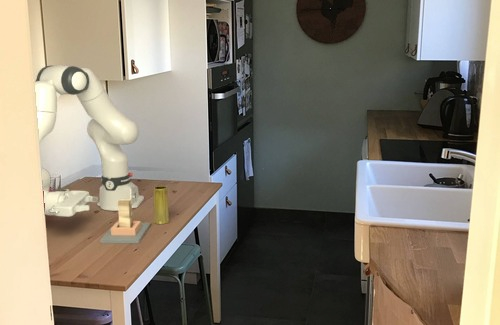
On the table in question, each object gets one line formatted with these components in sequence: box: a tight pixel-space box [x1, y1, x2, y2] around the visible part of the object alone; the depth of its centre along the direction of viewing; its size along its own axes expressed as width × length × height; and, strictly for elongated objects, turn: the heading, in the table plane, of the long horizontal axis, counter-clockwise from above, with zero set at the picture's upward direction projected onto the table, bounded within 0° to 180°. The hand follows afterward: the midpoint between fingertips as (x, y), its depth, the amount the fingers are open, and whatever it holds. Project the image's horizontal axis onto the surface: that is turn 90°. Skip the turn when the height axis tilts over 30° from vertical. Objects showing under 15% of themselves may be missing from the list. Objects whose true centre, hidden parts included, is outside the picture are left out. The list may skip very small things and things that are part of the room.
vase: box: [153, 185, 171, 225], centre depth 222 cm, size 6×6×14 cm
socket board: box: [99, 220, 152, 244], centre depth 210 cm, size 20×14×4 cm
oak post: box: [117, 199, 134, 228], centre depth 209 cm, size 4×4×12 cm
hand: (93, 203), depth 208 cm, fingers open, 8 cm apart
